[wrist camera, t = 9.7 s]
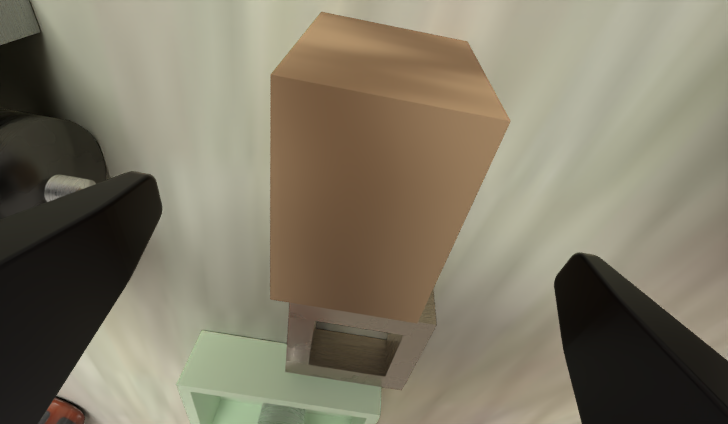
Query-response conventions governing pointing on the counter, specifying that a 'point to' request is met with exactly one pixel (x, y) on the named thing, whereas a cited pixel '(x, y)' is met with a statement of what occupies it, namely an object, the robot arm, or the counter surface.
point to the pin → (281, 414)
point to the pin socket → (356, 346)
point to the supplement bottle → (62, 413)
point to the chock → (374, 164)
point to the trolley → (40, 140)
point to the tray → (264, 385)
